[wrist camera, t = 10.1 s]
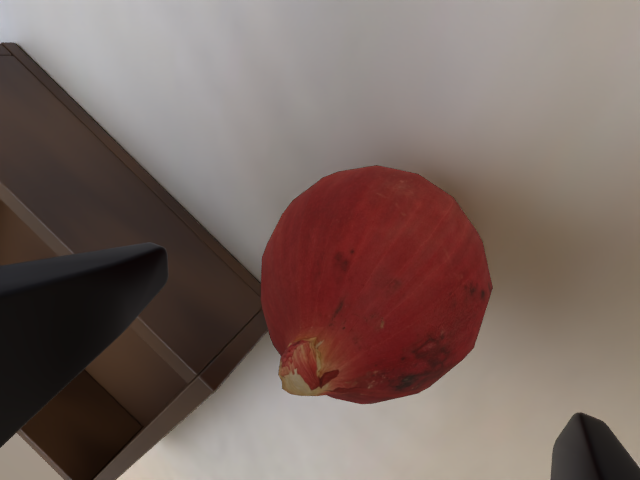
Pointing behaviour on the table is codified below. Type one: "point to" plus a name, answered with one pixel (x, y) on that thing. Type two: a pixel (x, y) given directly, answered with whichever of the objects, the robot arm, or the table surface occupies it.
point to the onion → (372, 286)
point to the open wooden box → (103, 233)
